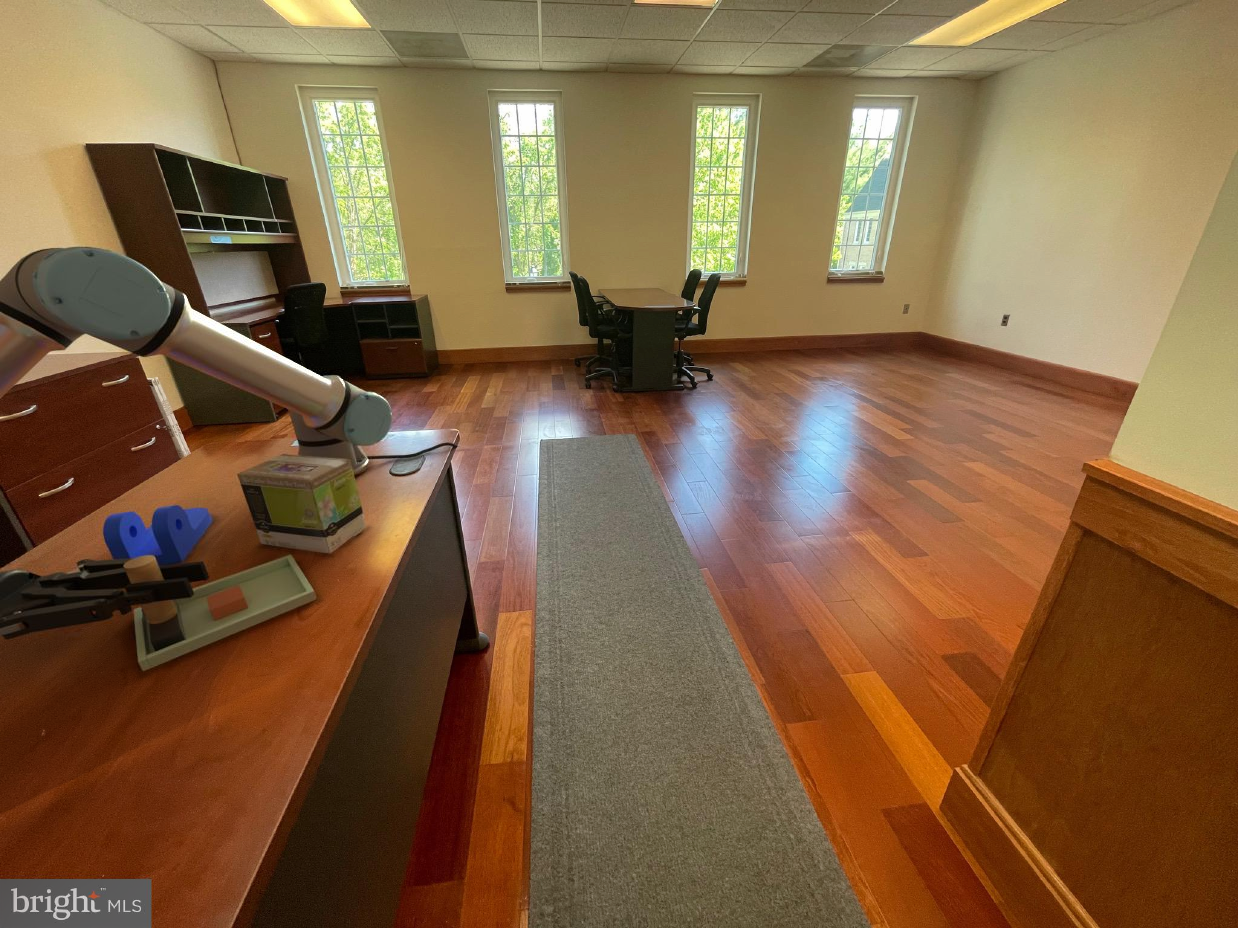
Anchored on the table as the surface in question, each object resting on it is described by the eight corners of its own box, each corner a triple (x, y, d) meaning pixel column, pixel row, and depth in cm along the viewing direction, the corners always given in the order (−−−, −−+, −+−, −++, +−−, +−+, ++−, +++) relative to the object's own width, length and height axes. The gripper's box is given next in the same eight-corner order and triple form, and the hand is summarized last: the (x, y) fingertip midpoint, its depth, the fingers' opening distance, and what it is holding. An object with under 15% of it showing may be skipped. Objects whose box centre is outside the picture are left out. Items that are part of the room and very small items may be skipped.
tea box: (368, 527, 93) (352, 458, 87) (330, 556, 84) (308, 481, 78) (303, 519, 95) (282, 451, 90) (259, 546, 86) (233, 472, 81)
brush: (179, 608, 70) (152, 542, 66) (187, 644, 64) (157, 573, 59) (152, 617, 68) (122, 550, 64) (157, 656, 62) (124, 583, 57)
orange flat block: (243, 595, 73) (239, 584, 72) (248, 607, 71) (244, 597, 70) (210, 607, 71) (205, 596, 70) (214, 621, 68) (209, 610, 67)
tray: (294, 564, 82) (290, 554, 81) (317, 601, 73) (314, 590, 72) (139, 620, 69) (133, 609, 68) (144, 674, 60) (137, 662, 59)
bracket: (182, 561, 82) (162, 516, 78) (120, 572, 79) (96, 526, 76) (218, 513, 97) (203, 473, 94) (167, 521, 94) (149, 480, 91)
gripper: (49, 587, 68) (235, 567, 73) (-72, 676, 54) (170, 643, 59) (23, 543, 65) (219, 525, 70) (-112, 624, 51) (146, 594, 56)
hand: (196, 578), depth 64 cm, fingers closed on brush, 3 cm apart
